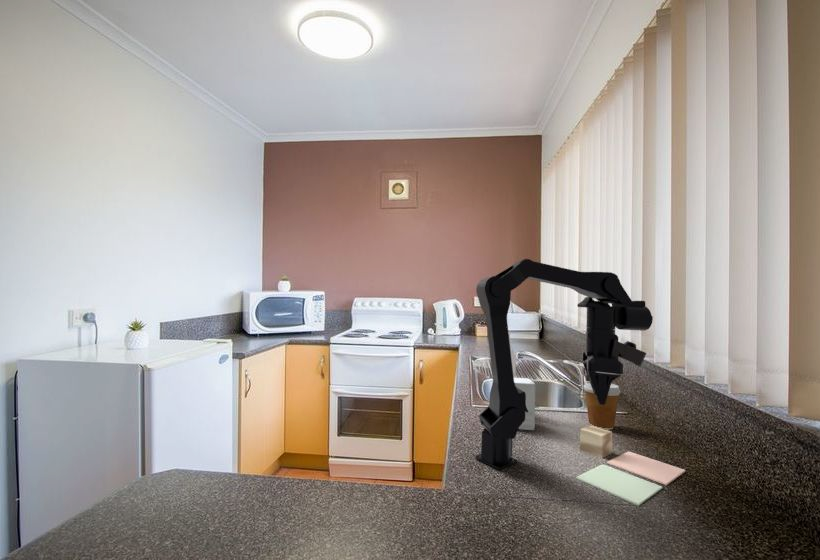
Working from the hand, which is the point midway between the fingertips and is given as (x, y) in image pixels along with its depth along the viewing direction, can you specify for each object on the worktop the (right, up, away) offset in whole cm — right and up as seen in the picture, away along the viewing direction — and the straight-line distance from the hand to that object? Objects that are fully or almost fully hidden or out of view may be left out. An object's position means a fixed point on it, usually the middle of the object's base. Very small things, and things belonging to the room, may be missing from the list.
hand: (599, 399), depth 79 cm
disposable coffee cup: (+13, -16, +23) cm, 31 cm away
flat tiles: (+3, -13, -6) cm, 15 cm away
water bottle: (-13, -15, +33) cm, 38 cm away
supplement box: (-12, -15, +21) cm, 28 cm away
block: (+2, -14, +5) cm, 15 cm away
